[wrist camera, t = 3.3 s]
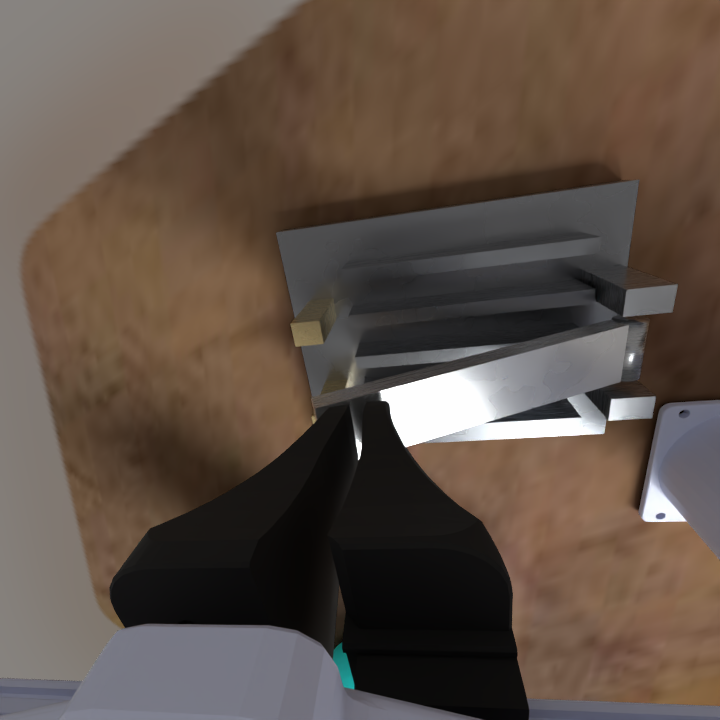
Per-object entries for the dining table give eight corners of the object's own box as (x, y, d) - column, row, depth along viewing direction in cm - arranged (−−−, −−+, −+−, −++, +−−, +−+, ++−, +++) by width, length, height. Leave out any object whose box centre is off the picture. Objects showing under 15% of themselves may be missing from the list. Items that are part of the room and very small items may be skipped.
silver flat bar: (628, 312, 15) (658, 319, 14) (620, 366, 16) (647, 377, 15) (309, 394, 13) (316, 411, 12) (322, 452, 14) (329, 474, 12)
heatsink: (623, 180, 16) (705, 177, 12) (593, 420, 21) (644, 482, 16) (283, 230, 18) (245, 242, 14) (327, 436, 23) (309, 494, 19)
